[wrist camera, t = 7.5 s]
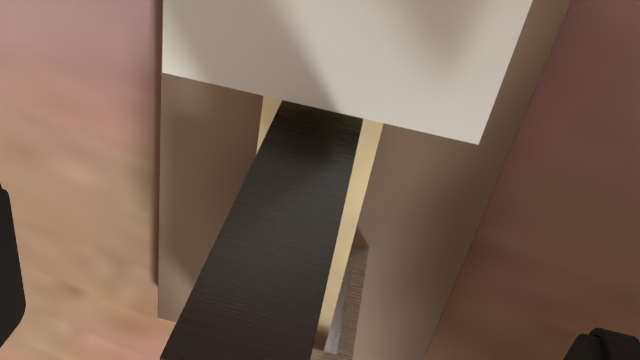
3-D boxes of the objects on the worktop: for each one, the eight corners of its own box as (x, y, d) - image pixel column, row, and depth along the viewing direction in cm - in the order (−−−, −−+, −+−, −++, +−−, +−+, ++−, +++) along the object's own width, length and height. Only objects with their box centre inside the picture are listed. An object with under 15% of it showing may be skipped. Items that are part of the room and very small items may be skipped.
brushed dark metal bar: (424, -49, 15) (401, 218, 6) (333, 304, 23) (263, 656, 14) (304, -75, 15) (113, 150, 6) (253, 285, 23) (131, 621, 14)
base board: (614, -137, 16) (626, -131, 15) (415, 359, 28) (414, 380, 27) (181, -227, 17) (165, -227, 16) (167, 298, 29) (157, 317, 28)
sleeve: (369, 247, 24) (350, 371, 19) (336, 361, 28) (314, 487, 23) (248, 218, 24) (199, 334, 19) (233, 336, 28) (190, 455, 23)
